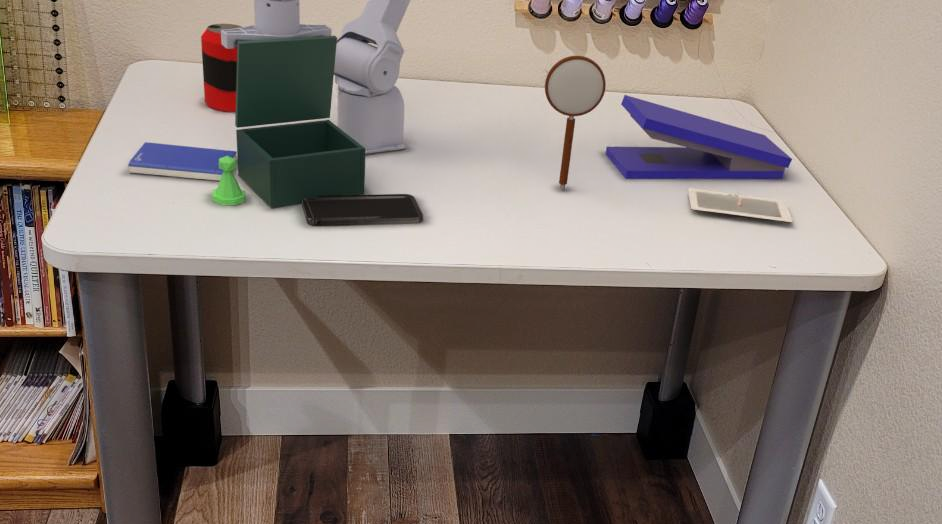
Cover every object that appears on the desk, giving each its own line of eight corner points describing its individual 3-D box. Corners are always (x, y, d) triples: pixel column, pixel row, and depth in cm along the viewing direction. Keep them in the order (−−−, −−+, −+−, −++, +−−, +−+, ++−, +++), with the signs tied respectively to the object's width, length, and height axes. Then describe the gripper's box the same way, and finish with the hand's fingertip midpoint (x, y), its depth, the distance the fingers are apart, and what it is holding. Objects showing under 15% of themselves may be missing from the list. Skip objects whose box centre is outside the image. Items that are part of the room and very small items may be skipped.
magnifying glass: (589, 188, 156) (608, 56, 146) (591, 193, 155) (610, 60, 144) (532, 185, 154) (547, 51, 144) (534, 190, 153) (549, 55, 143)
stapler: (604, 152, 170) (612, 94, 165) (757, 153, 179) (770, 98, 174) (627, 181, 161) (637, 119, 156) (788, 180, 170) (802, 122, 165)
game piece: (206, 194, 138) (204, 151, 135) (239, 190, 140) (237, 147, 137) (218, 207, 135) (215, 164, 132) (250, 202, 137) (249, 160, 134)
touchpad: (790, 228, 153) (794, 215, 152) (689, 215, 152) (692, 202, 151) (783, 207, 160) (786, 194, 158) (686, 194, 159) (689, 181, 158)
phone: (301, 196, 139) (412, 193, 144) (301, 203, 140) (412, 201, 145) (308, 221, 133) (424, 218, 138) (308, 229, 134) (424, 225, 139)
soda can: (217, 93, 170) (213, 19, 164) (262, 101, 170) (260, 27, 164) (196, 107, 164) (191, 30, 158) (243, 115, 163) (240, 38, 157)
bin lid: (337, 37, 140) (335, 35, 141) (239, 43, 133) (237, 40, 133) (330, 118, 148) (328, 115, 148) (236, 128, 140) (234, 125, 140)
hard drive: (127, 162, 139) (223, 171, 141) (145, 140, 146) (236, 149, 148) (128, 173, 140) (224, 182, 142) (146, 151, 147) (237, 160, 148)
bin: (364, 194, 144) (365, 148, 141) (271, 208, 136) (269, 160, 133) (328, 163, 151) (329, 119, 148) (238, 175, 144) (236, 129, 140)
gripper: (316, -14, 143) (316, 82, 150) (210, -11, 135) (215, 91, 142) (338, -1, 139) (337, 99, 146) (230, 3, 130) (235, 108, 137)
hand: (278, 96), depth 143 cm, fingers closed
